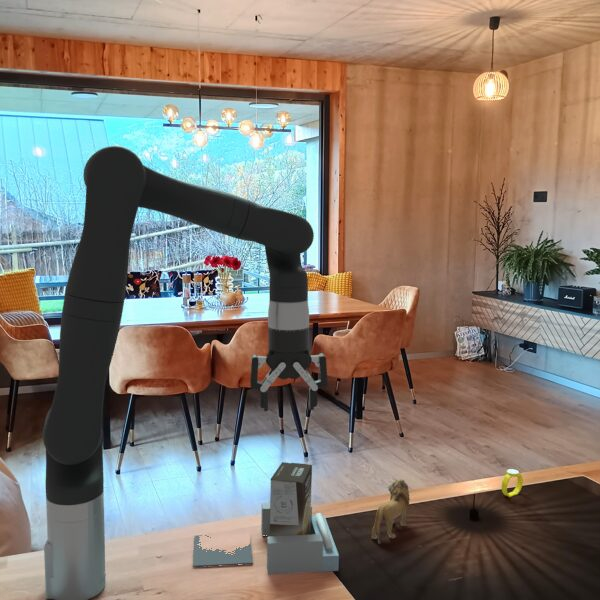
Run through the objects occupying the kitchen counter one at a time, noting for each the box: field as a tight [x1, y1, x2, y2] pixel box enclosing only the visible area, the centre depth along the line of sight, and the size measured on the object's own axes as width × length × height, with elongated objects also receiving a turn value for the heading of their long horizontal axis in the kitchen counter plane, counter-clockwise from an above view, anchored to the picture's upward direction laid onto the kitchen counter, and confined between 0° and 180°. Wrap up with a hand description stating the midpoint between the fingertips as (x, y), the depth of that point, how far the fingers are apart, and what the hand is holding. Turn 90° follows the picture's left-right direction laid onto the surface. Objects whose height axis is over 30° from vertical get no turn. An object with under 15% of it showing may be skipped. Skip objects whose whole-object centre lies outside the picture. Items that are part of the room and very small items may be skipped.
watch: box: [501, 468, 524, 498], centre depth 152 cm, size 6×3×6 cm, turn 123°
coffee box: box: [269, 461, 313, 536], centre depth 124 cm, size 9×6×16 cm
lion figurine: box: [371, 478, 410, 545], centre depth 134 cm, size 15×5×9 cm, turn 156°
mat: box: [192, 534, 254, 568], centre depth 125 cm, size 11×11×1 cm
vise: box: [260, 502, 340, 575], centre depth 125 cm, size 13×16×6 cm
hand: (288, 409), depth 121 cm, fingers open, 8 cm apart
